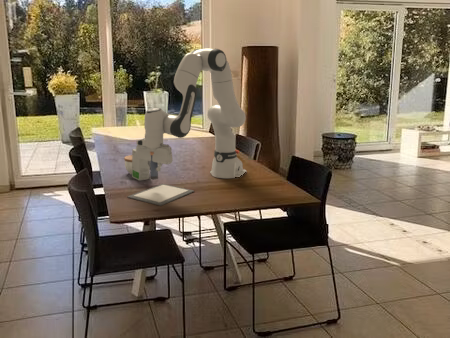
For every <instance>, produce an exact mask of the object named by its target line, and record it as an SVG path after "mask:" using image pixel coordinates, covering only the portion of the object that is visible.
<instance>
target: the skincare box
mask: <svg viewBox="0 0 450 338" xmlns="http://www.w3.org/2000/svg"><path fill="white" fill-rule="evenodd" d="M131 150H132V152H131V155H132V174H131V177H132V178H133V179H135V180H137V181H144V180H145V181H146V180H149V179H150V170H148V166H147V164H146V160H141V159H137V157H136V148H133V149H131Z"/></svg>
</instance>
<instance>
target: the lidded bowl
mask: <svg viewBox="0 0 450 338" xmlns="http://www.w3.org/2000/svg"><path fill="white" fill-rule="evenodd" d="M123 160H124V168H125V169H126V171H127V172H128V173H129V174H130V175H132V154H131V155H130V154H129V155H126V156H124V158H123Z"/></svg>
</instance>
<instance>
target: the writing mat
mask: <svg viewBox="0 0 450 338" xmlns="http://www.w3.org/2000/svg"><path fill="white" fill-rule="evenodd" d="M192 192H193V193H194V192H195V190H193V189H188V188H183V187H180V186H174V185H171V184H166V183H161V184H158V185H155V186H152V187H150V188H147V189H144V190H141V191H137V192H135V193H133V194H130V195H127V198H128V199H131V200H136V201H139V202H143V203H147V204H148V203H149V204H152V205H156V206H160V207H162V206H163V205H166V204H168V203H172V202H174V201H175V200H178V199H180V198H182V197H186V196H188V195H189V194H192Z"/></svg>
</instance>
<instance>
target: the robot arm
mask: <svg viewBox="0 0 450 338" xmlns="http://www.w3.org/2000/svg"><path fill="white" fill-rule="evenodd" d="M201 71H204V72H210V80H211V81H210V82H211V87H212V94H213V97H214V99H215V100H216V101H217V103H218V104H213V105H211V106H210V107H209V108H208V110H207V118H208V120H209V121H210V123H211V126H212V128H213V131H214V137H215V138H214V139H215V140H214V143H215V145H214V147H215V148H214V152H213V155H214V156H213V159H212V164H211V170H210V172H209V173H210V174H211V176H212V177H215V178H218V179H236V178H235V177H240V176H241V175H242V176H244V175H245V174H246V173H247V170H246V169H245V168H244V167H243V161H241V159H239V158H238V156H237V155H238V154H240V151H239V150H237V149H236V138H237V137H236V136H235V134H234V133H233V130H232V128H240V127H242V126H243V125H244V124H245V122H246V120H247V119H246V112H245V111H244V110H243V109H242V108H241V106H240V104H239V103H238V100H237V98H236V95H235V91H234V83H233V76H232V70H231V66H230V62H228V59H227V56H226V53H225V52H224V51H223V50H221V49H219V48H209V47H206V48H197V49H194V50H192V51H191V52H188V53H186V54H184V56H183V57H182V59H181V60H180V63H179V64H178V67H177V69H176V72H175V75H174V78H173V85H174V87H175V89H176V90H177V91H179V92H180V94H182V103H181V107H180V110H179V114H177V115H176V114H171V113H168V112H166V111H164V110H163V109H162V108H160V107H151V108H148V109H147V110H146V112H145V115H144V130H145V133H144V137H143V138H141V139H137V140H136V147H135V149H136V157H137V159H141V160H146V164H147V166H148V170H150V161H151V155H150V152H154V154H153V156H152V161H153V162H157V163H158V167H157V168H156V171H158V173H159V172H161V169H162V166H163V164H164V165H171V164H172V163H173V152H172V150H173V149H172V147H171V146H170V144H165V143H164V134H167V135H170V136H174V137H176V138H179V139H182V138H185V137H186V136H187V135H188V134H189V133H190V131H191V126H192V118H193V113H194V108H195V105H196V104H195V103H196V101H197V95H198V89H197V82H198V79H199V77H200V74H201ZM245 172H246V173H245ZM244 173H245V174H244ZM243 174H244V175H243ZM242 176H241V177H242ZM241 177H240V178H241Z"/></svg>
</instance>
